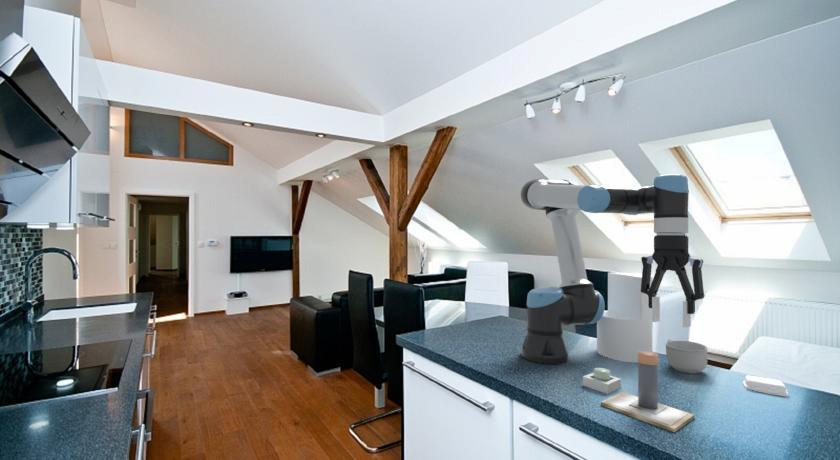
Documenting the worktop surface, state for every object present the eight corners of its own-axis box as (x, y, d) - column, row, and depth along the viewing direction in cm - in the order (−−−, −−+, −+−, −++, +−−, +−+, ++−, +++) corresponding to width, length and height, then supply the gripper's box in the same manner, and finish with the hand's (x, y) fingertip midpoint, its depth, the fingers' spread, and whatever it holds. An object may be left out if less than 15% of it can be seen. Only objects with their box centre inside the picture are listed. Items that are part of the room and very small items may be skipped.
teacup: (715, 377, 113) (715, 350, 113) (674, 374, 115) (674, 348, 115) (691, 362, 127) (691, 338, 127) (655, 360, 129) (655, 336, 129)
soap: (744, 390, 105) (744, 379, 105) (742, 382, 110) (742, 372, 110) (790, 398, 99) (790, 387, 100) (784, 390, 105) (784, 379, 105)
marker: (634, 404, 92) (634, 353, 92) (642, 400, 94) (642, 350, 94) (653, 411, 88) (653, 357, 89) (661, 406, 91) (661, 354, 91)
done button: (590, 380, 106) (590, 369, 106) (598, 377, 108) (598, 366, 108) (605, 385, 103) (605, 373, 103) (612, 381, 105) (612, 370, 105)
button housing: (582, 385, 106) (582, 376, 106) (596, 380, 110) (596, 371, 110) (607, 394, 101) (607, 384, 101) (620, 387, 105) (621, 378, 105)
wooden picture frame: (600, 405, 94) (600, 400, 94) (623, 394, 100) (623, 390, 100) (674, 432, 81) (674, 427, 81) (694, 418, 87) (694, 413, 87)
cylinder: (628, 346, 145) (628, 272, 145) (665, 361, 128) (665, 277, 128) (586, 348, 142) (586, 272, 142) (618, 363, 125) (618, 277, 125)
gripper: (721, 234, 94) (721, 329, 94) (638, 234, 110) (638, 315, 109) (710, 234, 89) (710, 333, 89) (625, 234, 105) (625, 318, 105)
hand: (670, 323), depth 99 cm, fingers open, 6 cm apart
